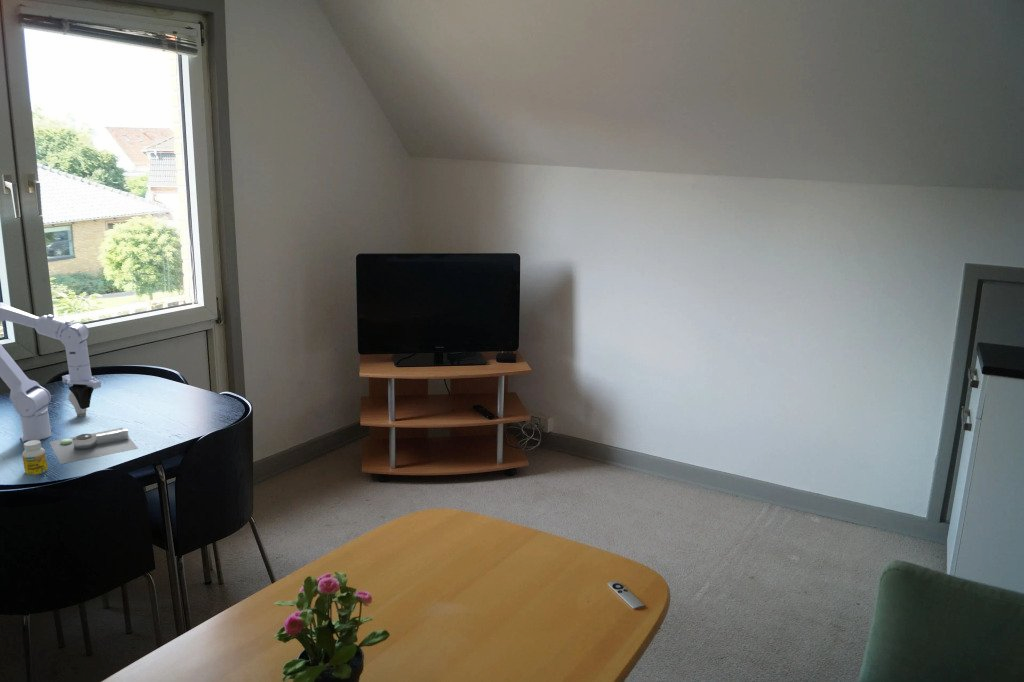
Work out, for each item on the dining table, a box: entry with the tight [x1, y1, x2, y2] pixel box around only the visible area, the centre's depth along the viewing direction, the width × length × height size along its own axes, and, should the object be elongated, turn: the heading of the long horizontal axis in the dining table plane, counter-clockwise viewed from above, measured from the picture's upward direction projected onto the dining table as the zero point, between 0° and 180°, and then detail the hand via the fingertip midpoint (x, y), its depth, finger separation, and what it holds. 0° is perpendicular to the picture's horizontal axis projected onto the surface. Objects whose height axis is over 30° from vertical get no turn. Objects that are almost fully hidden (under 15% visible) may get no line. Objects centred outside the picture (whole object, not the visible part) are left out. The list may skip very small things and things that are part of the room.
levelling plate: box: [48, 427, 139, 465], centre depth 233 cm, size 20×20×2 cm
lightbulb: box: [67, 390, 88, 418], centre depth 256 cm, size 6×6×11 cm
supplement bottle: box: [21, 440, 49, 476], centre depth 215 cm, size 5×5×10 cm
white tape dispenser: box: [73, 428, 130, 450], centre depth 234 cm, size 14×6×3 cm, turn 128°
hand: (85, 407), depth 238 cm, fingers closed
